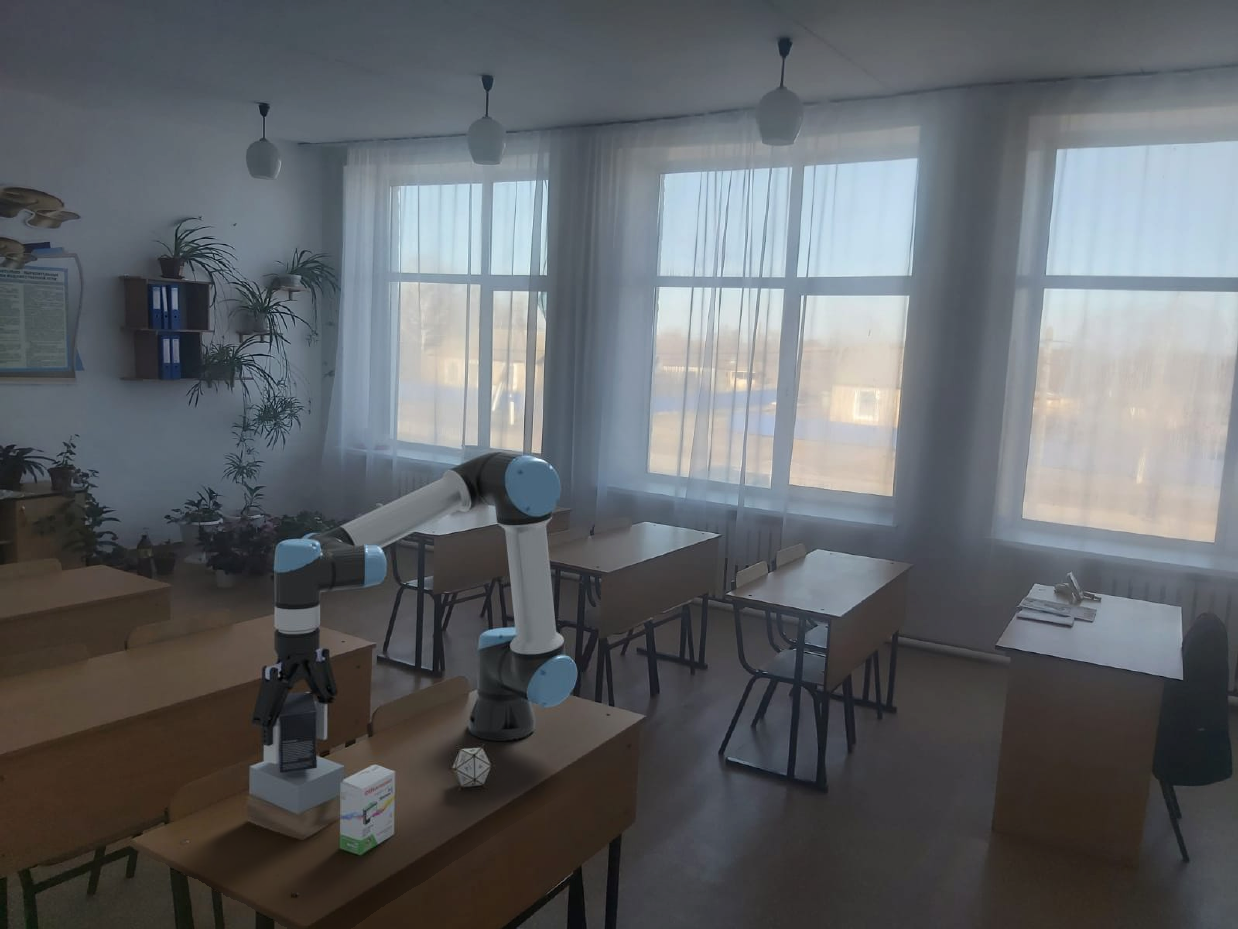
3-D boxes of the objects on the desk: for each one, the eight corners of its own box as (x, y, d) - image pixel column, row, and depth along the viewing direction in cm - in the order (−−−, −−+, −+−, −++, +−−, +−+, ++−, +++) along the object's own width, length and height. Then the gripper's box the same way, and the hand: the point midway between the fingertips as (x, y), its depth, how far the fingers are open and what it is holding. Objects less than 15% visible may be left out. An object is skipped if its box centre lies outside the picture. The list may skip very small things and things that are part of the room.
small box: (275, 749, 162) (275, 693, 161) (313, 745, 164) (313, 689, 163) (277, 773, 152) (278, 714, 151) (317, 768, 155) (318, 710, 154)
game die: (476, 808, 174) (482, 782, 168) (438, 788, 175) (443, 762, 169) (498, 771, 181) (505, 745, 174) (461, 752, 182) (467, 725, 176)
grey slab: (296, 774, 167) (296, 748, 167) (344, 793, 160) (344, 766, 160) (249, 793, 159) (249, 766, 158) (298, 814, 152) (298, 786, 151)
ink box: (360, 856, 148) (361, 788, 147) (338, 848, 150) (339, 781, 149) (395, 834, 156) (396, 769, 155) (373, 827, 158) (374, 763, 157)
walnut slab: (289, 801, 167) (290, 775, 167) (343, 817, 161) (344, 791, 161) (247, 823, 158) (247, 796, 157) (302, 842, 152) (302, 814, 152)
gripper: (327, 610, 168) (326, 723, 170) (227, 641, 147) (227, 770, 149) (359, 616, 165) (357, 730, 167) (261, 648, 144) (261, 779, 146)
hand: (296, 749), depth 158 cm, fingers closed on small box, 11 cm apart
